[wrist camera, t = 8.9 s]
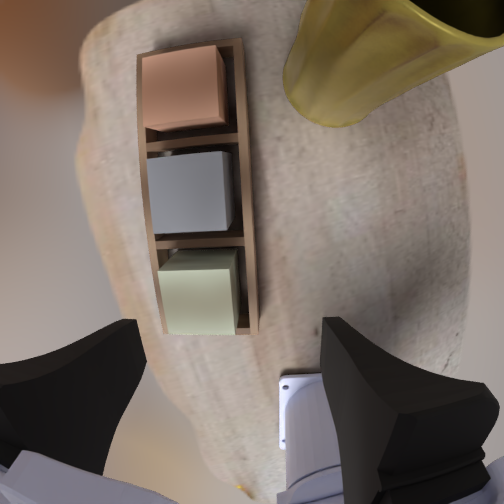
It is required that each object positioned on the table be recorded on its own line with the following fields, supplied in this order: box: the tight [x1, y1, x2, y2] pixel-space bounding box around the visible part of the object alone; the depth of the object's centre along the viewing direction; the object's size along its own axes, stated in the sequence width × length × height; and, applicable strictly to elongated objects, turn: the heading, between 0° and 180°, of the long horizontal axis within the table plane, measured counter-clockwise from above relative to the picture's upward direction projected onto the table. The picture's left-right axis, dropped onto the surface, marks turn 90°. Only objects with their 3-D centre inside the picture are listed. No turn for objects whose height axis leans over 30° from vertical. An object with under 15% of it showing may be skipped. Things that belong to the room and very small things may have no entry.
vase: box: [283, 0, 504, 128], centre depth 10 cm, size 6×6×14 cm
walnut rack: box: [137, 38, 259, 335], centre depth 17 cm, size 18×6×4 cm, turn 3°
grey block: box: [146, 151, 235, 234], centre depth 17 cm, size 4×4×4 cm
